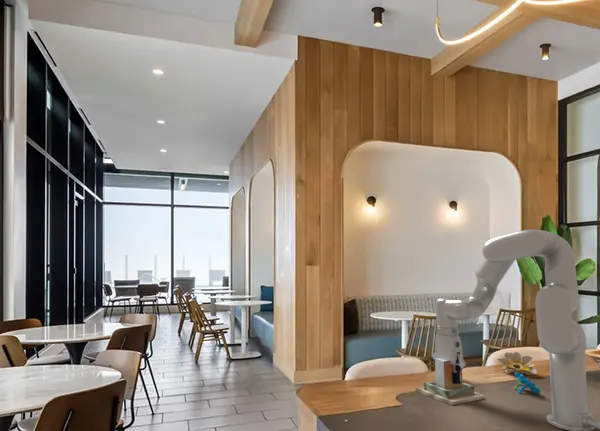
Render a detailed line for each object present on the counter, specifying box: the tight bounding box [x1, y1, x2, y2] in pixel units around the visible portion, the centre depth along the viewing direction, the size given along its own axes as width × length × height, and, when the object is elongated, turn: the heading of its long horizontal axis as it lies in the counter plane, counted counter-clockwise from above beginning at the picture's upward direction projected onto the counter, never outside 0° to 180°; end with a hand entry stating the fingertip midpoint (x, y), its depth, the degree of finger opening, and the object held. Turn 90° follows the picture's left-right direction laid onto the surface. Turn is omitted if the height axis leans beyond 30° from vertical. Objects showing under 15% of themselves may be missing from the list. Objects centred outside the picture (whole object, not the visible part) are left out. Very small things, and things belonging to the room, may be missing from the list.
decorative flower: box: [496, 351, 537, 376], centre depth 189 cm, size 15×11×10 cm
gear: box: [513, 372, 541, 395], centre depth 163 cm, size 11×6×10 cm
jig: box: [415, 380, 485, 406], centre depth 160 cm, size 18×16×4 cm
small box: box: [434, 358, 463, 390], centre depth 161 cm, size 8×6×10 cm
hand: (449, 380), depth 161 cm, fingers closed on small box, 6 cm apart
